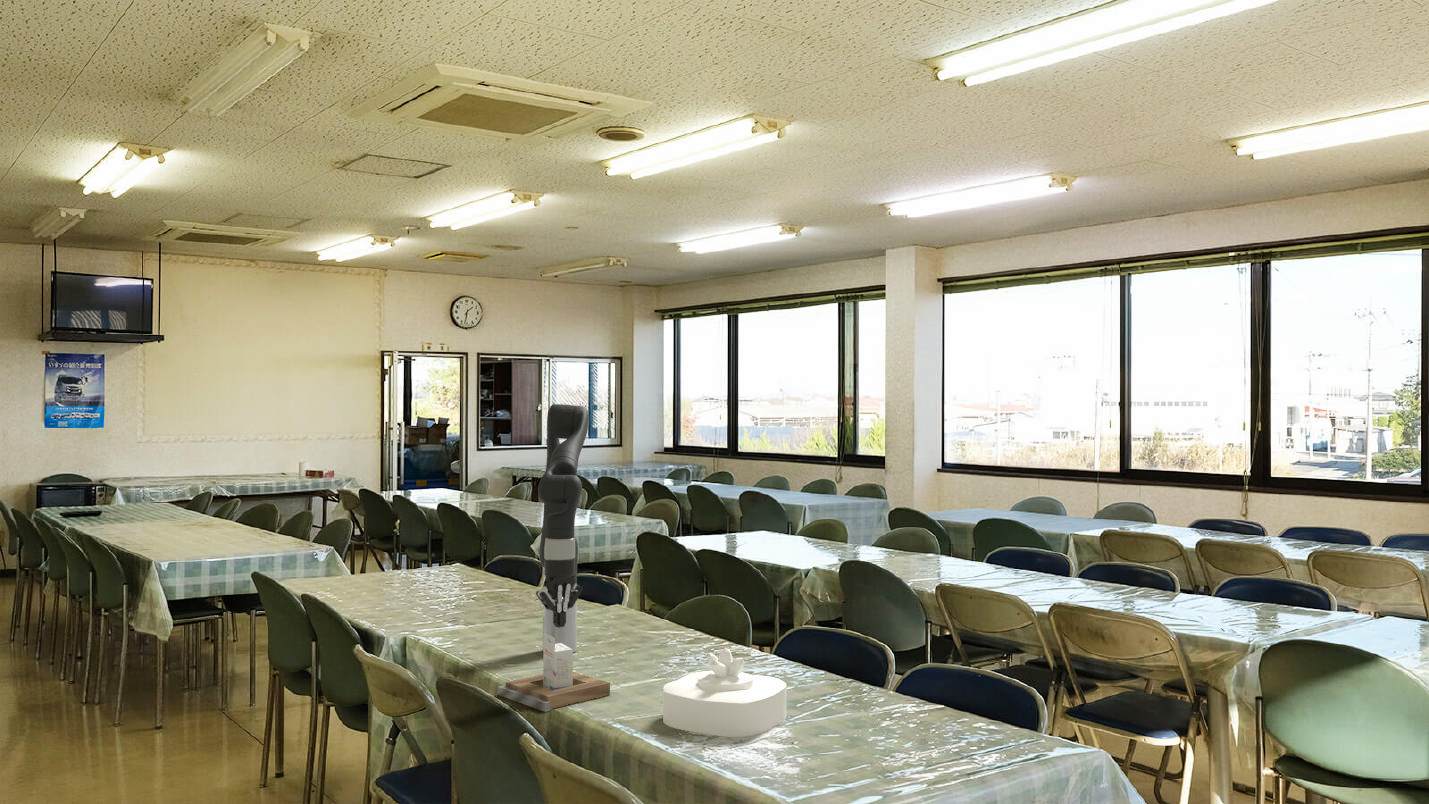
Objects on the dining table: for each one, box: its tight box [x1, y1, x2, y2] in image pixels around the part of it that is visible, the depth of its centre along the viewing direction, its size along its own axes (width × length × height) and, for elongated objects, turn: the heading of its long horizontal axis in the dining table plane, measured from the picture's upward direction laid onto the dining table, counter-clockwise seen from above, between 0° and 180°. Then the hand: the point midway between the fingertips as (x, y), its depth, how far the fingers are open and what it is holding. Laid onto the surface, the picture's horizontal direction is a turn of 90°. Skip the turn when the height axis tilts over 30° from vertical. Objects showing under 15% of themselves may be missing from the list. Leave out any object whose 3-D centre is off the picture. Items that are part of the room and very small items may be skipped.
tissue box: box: [662, 646, 787, 738], centre depth 235 cm, size 25×25×16 cm
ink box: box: [542, 633, 574, 690], centre depth 254 cm, size 8×5×15 cm, turn 29°
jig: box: [497, 671, 611, 713], centre depth 253 cm, size 20×20×3 cm
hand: (559, 626), depth 256 cm, fingers closed
